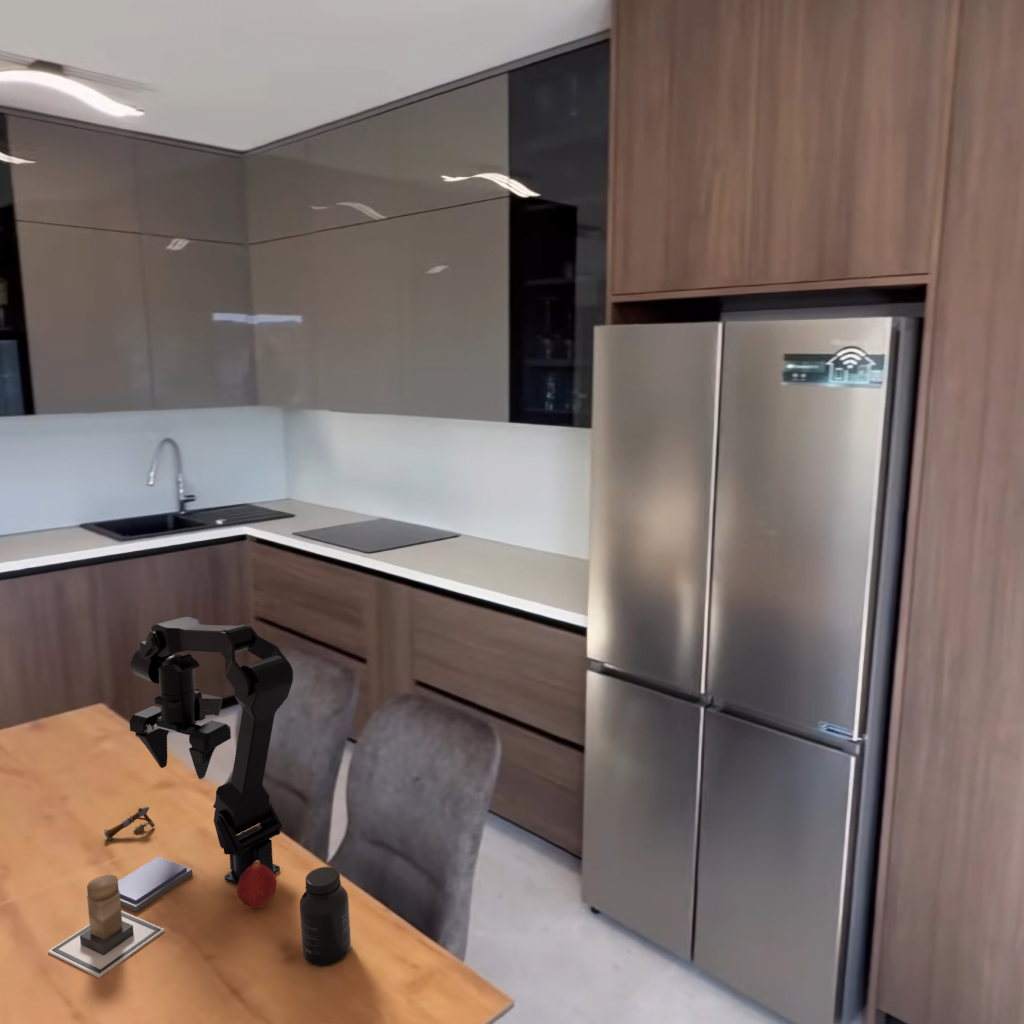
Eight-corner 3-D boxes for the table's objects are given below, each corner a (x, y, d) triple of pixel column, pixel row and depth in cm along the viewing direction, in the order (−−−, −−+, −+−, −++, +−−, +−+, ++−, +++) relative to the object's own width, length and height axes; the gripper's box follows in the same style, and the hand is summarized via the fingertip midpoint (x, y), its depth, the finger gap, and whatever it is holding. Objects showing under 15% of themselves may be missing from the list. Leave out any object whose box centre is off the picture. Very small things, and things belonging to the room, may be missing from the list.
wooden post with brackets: (159, 824, 151) (147, 806, 150) (117, 852, 148) (104, 833, 147) (158, 820, 153) (146, 801, 151) (116, 847, 150) (103, 828, 148)
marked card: (164, 930, 124) (164, 928, 124) (99, 977, 114) (98, 975, 114) (115, 909, 129) (114, 907, 129) (48, 952, 119) (47, 950, 119)
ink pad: (192, 874, 138) (191, 866, 137) (136, 912, 128) (135, 903, 128) (158, 861, 141) (158, 853, 141) (101, 897, 132) (100, 889, 131)
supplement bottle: (330, 929, 124) (327, 856, 122) (360, 949, 120) (358, 873, 118) (292, 954, 119) (288, 877, 117) (322, 975, 115) (318, 897, 113)
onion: (237, 922, 126) (235, 874, 124) (239, 899, 131) (236, 853, 130) (277, 916, 127) (275, 868, 126) (277, 893, 133) (275, 847, 131)
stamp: (133, 934, 122) (129, 878, 121) (103, 955, 118) (98, 897, 117) (110, 924, 125) (106, 869, 123) (80, 944, 120) (75, 887, 119)
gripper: (251, 682, 148) (254, 764, 151) (174, 666, 156) (179, 743, 158) (204, 705, 138) (208, 792, 141) (124, 686, 146) (130, 768, 148)
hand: (182, 772), depth 147 cm, fingers open, 9 cm apart
